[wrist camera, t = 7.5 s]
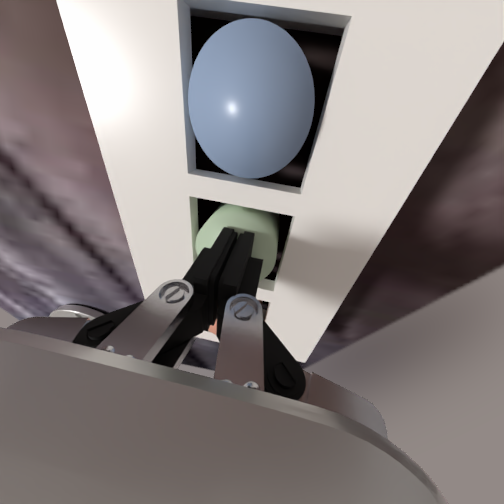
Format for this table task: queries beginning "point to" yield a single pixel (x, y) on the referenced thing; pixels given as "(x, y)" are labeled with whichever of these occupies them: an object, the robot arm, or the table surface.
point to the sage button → (242, 221)
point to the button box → (324, 145)
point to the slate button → (251, 98)
